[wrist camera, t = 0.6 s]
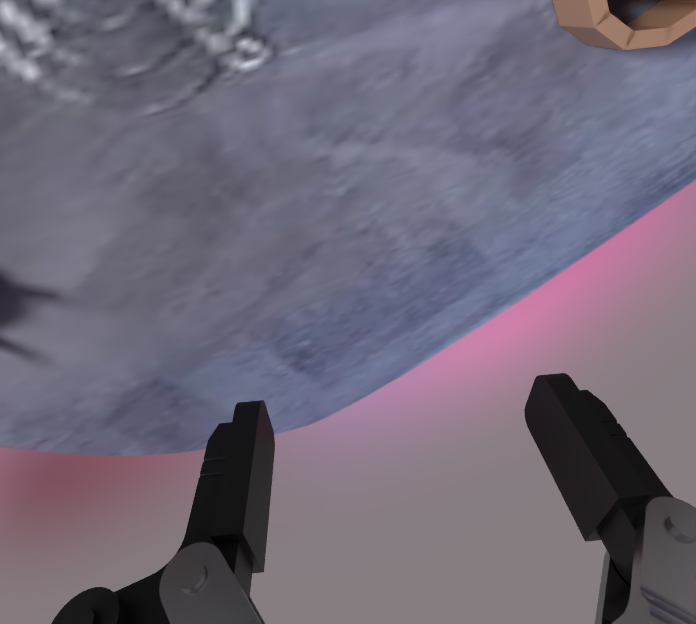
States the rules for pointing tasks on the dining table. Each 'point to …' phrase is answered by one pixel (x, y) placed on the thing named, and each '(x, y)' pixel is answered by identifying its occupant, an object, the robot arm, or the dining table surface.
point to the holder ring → (644, 31)
